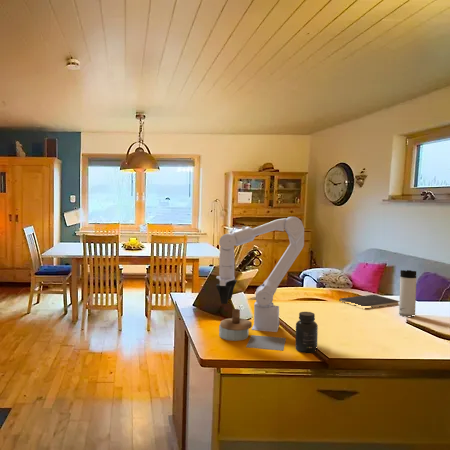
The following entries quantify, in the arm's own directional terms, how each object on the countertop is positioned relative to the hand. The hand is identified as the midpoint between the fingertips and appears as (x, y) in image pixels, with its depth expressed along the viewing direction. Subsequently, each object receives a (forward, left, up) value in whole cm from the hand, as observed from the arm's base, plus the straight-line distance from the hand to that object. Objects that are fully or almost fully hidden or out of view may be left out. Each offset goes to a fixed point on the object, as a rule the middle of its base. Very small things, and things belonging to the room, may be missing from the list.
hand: (226, 301), depth 142 cm
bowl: (-5, +10, -10) cm, 15 cm away
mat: (-17, +14, -10) cm, 24 cm away
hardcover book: (-59, -55, -11) cm, 81 cm away
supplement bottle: (-30, +17, -10) cm, 36 cm away
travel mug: (-72, -36, -10) cm, 81 cm away
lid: (-6, +10, -6) cm, 13 cm away
